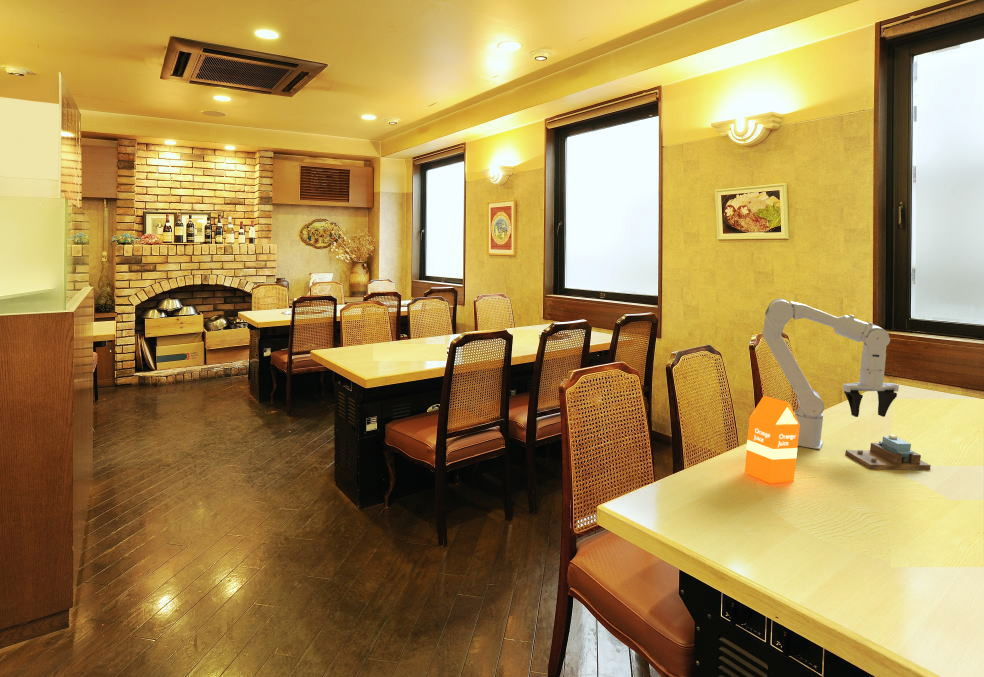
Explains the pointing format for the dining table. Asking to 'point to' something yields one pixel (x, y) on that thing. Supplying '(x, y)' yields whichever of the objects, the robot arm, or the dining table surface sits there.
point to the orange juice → (772, 441)
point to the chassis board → (886, 458)
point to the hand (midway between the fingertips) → (868, 415)
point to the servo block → (897, 446)
